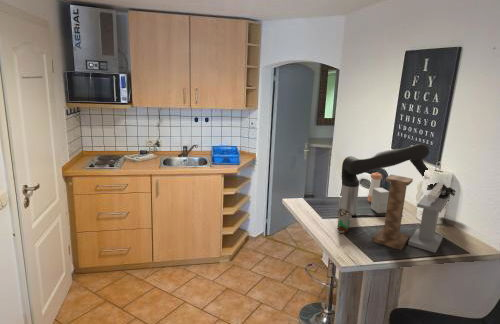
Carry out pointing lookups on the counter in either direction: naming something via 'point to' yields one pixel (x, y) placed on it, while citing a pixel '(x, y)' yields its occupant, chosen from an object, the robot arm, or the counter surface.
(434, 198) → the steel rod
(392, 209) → the tall stand
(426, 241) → the stand
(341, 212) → the food container
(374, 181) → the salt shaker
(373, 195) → the small box
